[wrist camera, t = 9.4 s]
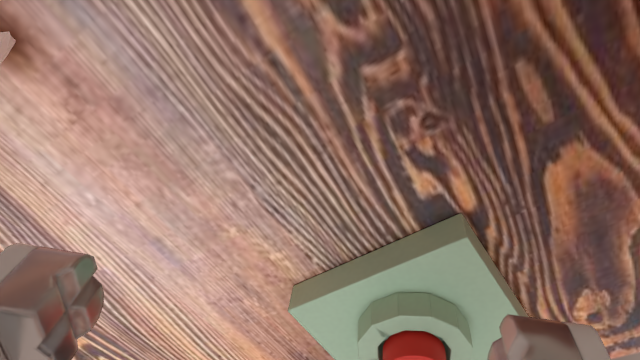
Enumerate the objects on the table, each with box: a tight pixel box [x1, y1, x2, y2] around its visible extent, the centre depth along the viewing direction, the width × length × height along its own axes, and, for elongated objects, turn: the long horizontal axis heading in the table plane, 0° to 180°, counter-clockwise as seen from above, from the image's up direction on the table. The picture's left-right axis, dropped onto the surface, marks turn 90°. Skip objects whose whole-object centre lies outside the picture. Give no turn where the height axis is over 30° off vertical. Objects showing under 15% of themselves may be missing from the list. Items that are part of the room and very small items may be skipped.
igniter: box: [288, 213, 529, 360], centre depth 28 cm, size 12×10×4 cm
